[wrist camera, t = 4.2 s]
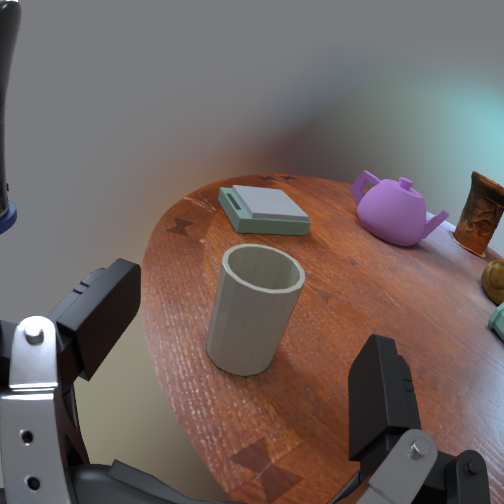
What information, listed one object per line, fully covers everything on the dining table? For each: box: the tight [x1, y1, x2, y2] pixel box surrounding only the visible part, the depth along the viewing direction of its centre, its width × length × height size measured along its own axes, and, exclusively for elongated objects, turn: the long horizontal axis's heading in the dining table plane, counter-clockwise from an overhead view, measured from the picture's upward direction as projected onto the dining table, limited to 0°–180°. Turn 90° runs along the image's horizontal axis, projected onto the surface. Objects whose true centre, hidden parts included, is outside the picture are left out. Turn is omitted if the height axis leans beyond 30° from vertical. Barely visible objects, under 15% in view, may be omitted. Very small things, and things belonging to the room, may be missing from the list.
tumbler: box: [206, 244, 305, 376], centre depth 24 cm, size 6×6×9 cm
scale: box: [218, 185, 311, 236], centre depth 51 cm, size 12×12×3 cm
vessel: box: [449, 171, 504, 258], centre depth 66 cm, size 14×14×20 cm
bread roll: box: [482, 259, 504, 305], centre depth 47 cm, size 13×10×8 cm
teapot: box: [349, 170, 449, 246], centre depth 59 cm, size 22×16×12 cm
